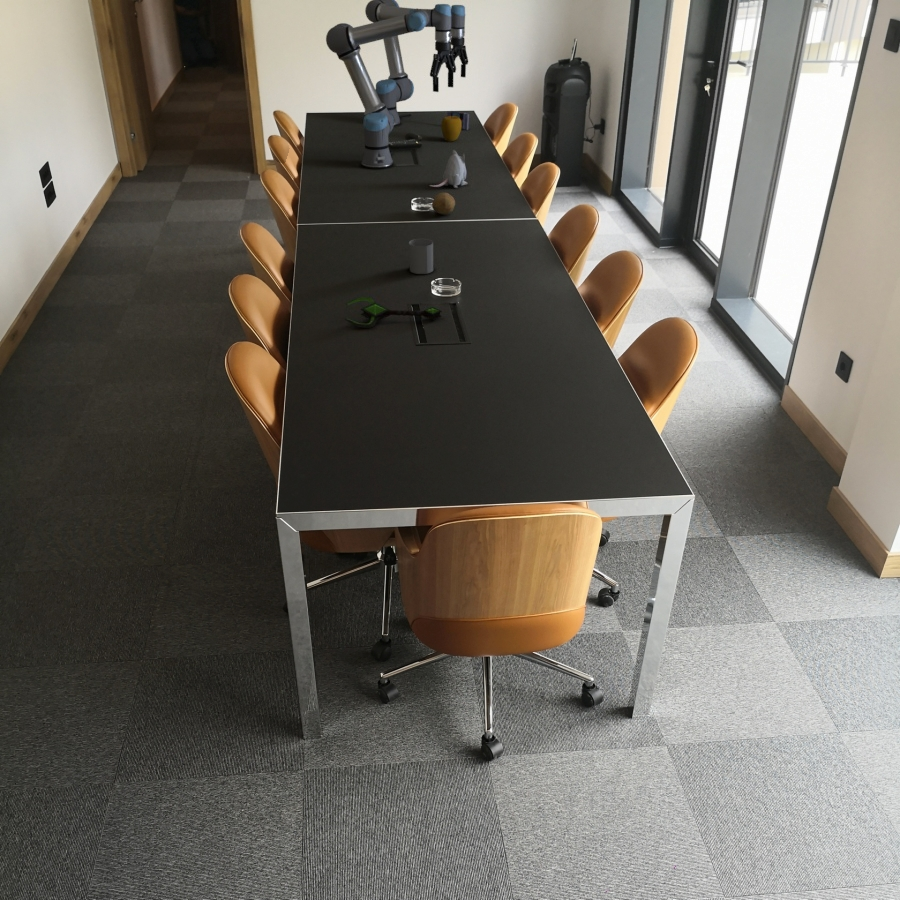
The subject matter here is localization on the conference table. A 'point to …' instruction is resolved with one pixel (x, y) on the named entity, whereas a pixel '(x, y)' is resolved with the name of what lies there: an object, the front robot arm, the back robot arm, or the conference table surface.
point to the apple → (451, 127)
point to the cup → (421, 256)
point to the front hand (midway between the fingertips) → (443, 89)
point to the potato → (443, 203)
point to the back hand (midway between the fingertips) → (456, 79)
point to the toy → (454, 171)
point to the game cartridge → (462, 116)
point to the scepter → (388, 312)
